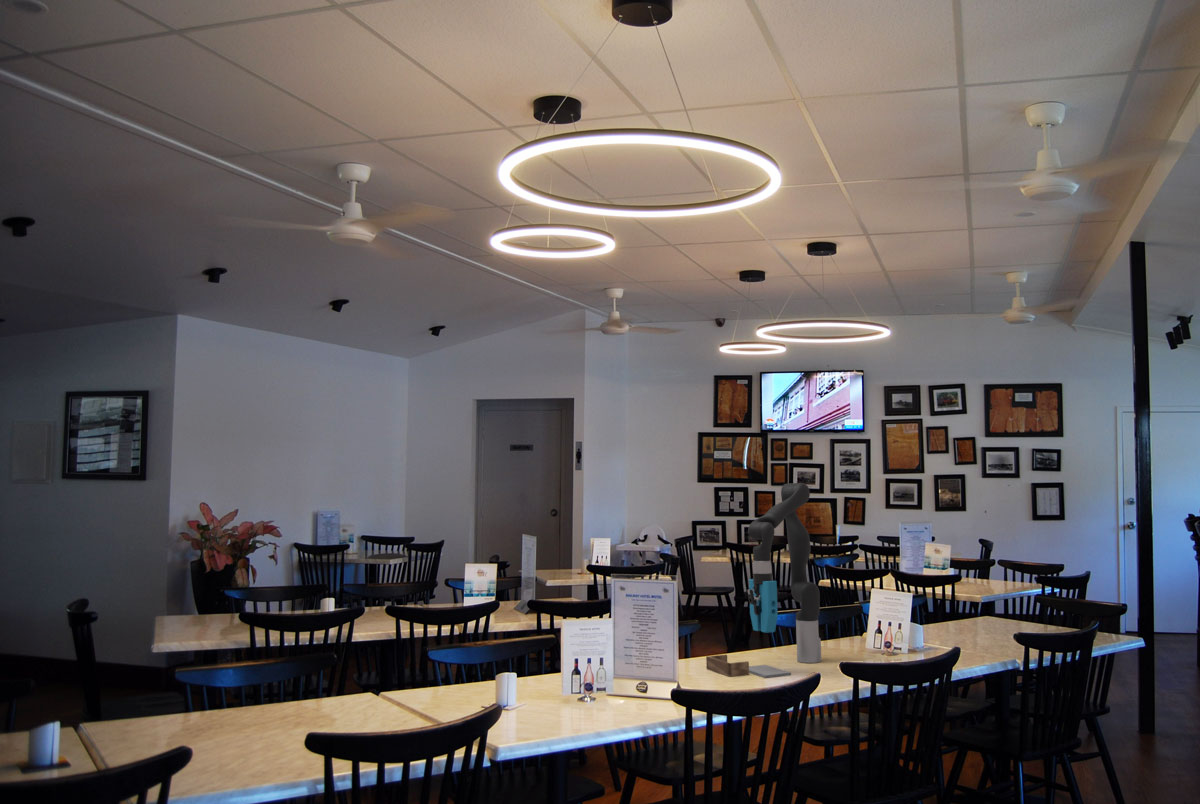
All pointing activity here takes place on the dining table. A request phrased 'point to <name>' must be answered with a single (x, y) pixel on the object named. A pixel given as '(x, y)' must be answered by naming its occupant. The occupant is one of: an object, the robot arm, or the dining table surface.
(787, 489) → the robot arm
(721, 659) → the walnut stall
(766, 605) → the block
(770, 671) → the slate pad
